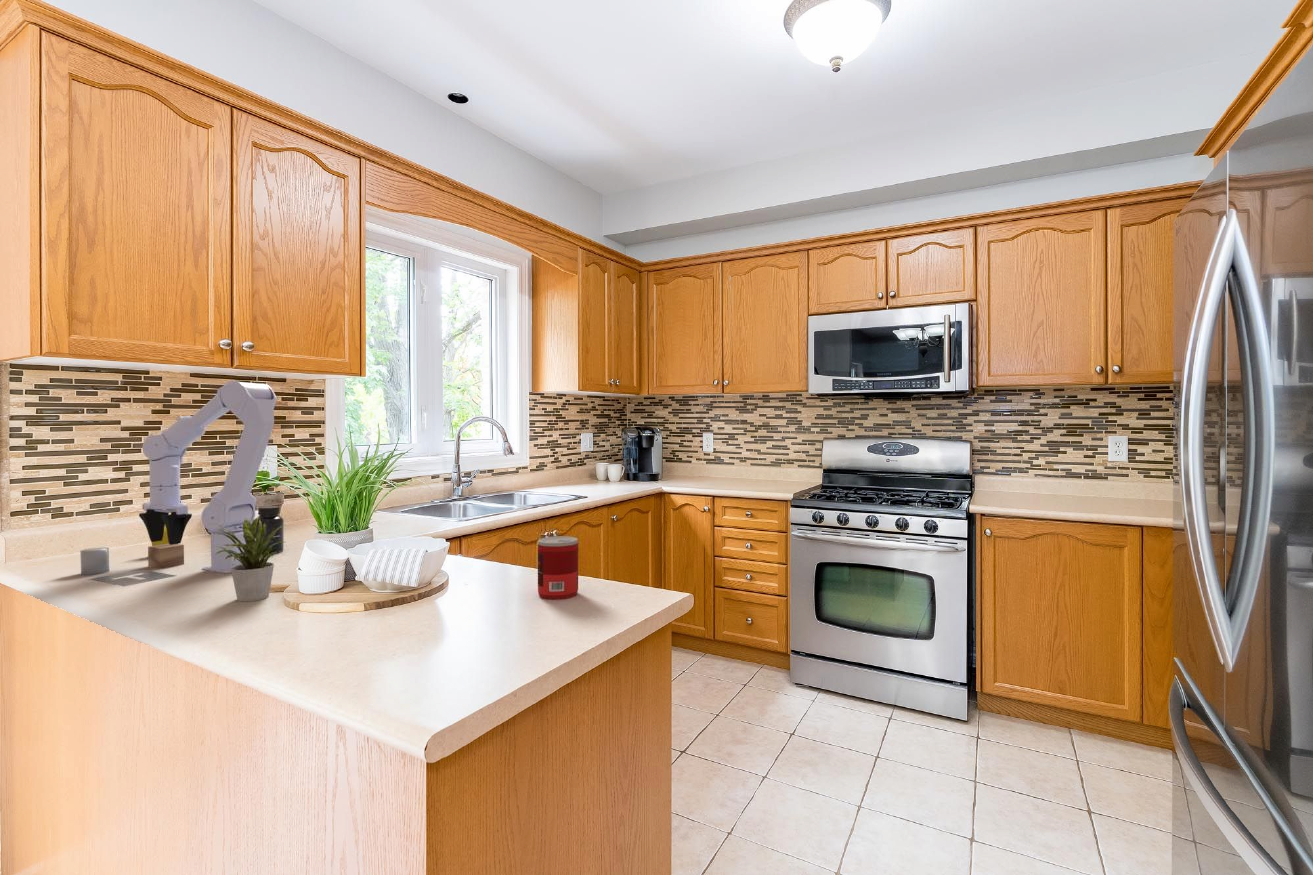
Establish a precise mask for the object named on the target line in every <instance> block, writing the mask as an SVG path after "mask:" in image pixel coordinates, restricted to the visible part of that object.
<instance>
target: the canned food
mask: <svg viewBox="0 0 1313 875" xmlns="http://www.w3.org/2000/svg"><path fill="white" fill-rule="evenodd" d="M578 591H579V540H578V538H577V537H573V536H567V535H562V536H561V535H557V536H546V537H541V538H539V539H538V540H537V592H538V595H539V597H540V598H541V599H544V600H545V599H546V600H564V599H565V600H566V599H570V598H573V597H575V596H577V594H578Z"/></svg>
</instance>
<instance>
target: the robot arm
mask: <svg viewBox="0 0 1313 875" xmlns="http://www.w3.org/2000/svg"><path fill="white" fill-rule="evenodd" d="M277 400H278V397H277V396H276V394H275V392H274V390H273V388H272V387H271V386H270V385H268V384H267V383H261V382H256V383H255V382H243V381H238V380H230V381H227V382H225V383H224V384H223V386H221V387H219V388H218V389H217V390H216V395H215V396H214V397H212V398H211V399H210V400H209V401H208V402H206V404H204V405H203V406H202V407H201V408H200V409H199V410H197V411H196V412H195V413H194V414H193V415H183V416H179V417H178V418H176V421H175V422H174V423H173V424H172V425H170V426H169V427H168V428H164V429H163V430H162V432H161V433H158V434H150V435H148V436H147V437H146V438H145V439H144V441H143V442H142V452H143V455H144V456H145V457H146V458H147V459H148V460H149V501H148V502H143V504H142V505H143V512H142V513H138V516H139V518H140V519H141V521H142V522H143V524H144V526H145V529H146V531H147V534H148V538H149V541H150V542H151V543H152V542H156V541H162V539H163V534H164V526H166V529H167V536H168V542H169V544H170V545H173V544H181V543H182V540H183V536H184V532H185V530H186V527H187V525H188V523H189V522H190V520H191V518H192V517H193V514H192V513H189V505H187V504H184V503H182V502H181V465H182V464H183V457H184V456H185V454H186V452H187V448H188V447H190V446H191V445H192V444H193V443H194V442H195V441H197V440H198V439H200V438H201V437H203V436H204V435H205V433H206V427H207V426H209V425H210V424H212V423H213V422H215V421H216V420H218V419H219V418H221V417H222V416H223V415H225V414H227V413H228V412H230V411H231V413H232V414H233V415H235V417H236V418H238V419H239V421H241V423H242V424H243V429H242V432H241V436H240V438H239V439H238V440H239V441H238V444H237V447H236V449H235V452H234V455H233V458H232V461H231V464H230V467H229V470H228V473H227V476H226V478H225V481H224V484H223V487H222V489H220V490H219V491H217V493H215V494H214V495H212V497H211V499H210V501H209V503H208V504H207V506H205V507H204V509H203V511H202V512H201V523H202V524H203V526H204V528H205V529H206V530H207V533H210V565H208V566H203V567H202V570H203V571H204V570H205V571H210V572H217V573H223V574H229V573H232V572H231V568H232V567H234V566H237V565H241V564H242V563H241V562H239V561H238V560H237V559H235V561H234V557H233V556H232V557H229V558H227V559H226V557H227V556H228V555H230V554H229V553H227V552H226V551H224V552H220V553H218V554H216V553H217V552H219V551H222V550H224V549H222V548H225V549H226V550H232V551H235V552H236V553H241V552H240V550H239V549H238V548H237V547H236V546H225V544H234V542H233V541H232V540H231V539H229V538H228V537H226V536H225V535H219V534H226V533H224V532H228V531H229V530H230V531H231V532H232V533H233V534H234V535H235V536H236V537H237V538H238V539H239V540H240V541H241V543H242V544H246V542H245V539H244V537H243V535H244V533H243V522H244V521H245V518H246V519H248V520H249V521H250V523H252V521H253V520H254V519H255V518H256V503H257V498H256V497H255V496H254V495H253V494H252V489H253V486H254V483H255V481H256V479H257V478H256V477H257V475H258V472H259V471H260V470H259V469H260V467H261V463H262V460H263V457H264V456H265V453H266V449H267V446H268V443H269V440H270V437H271V435H272V432H273V429H274V426H275V412H274V409H275V407H276V403H277ZM144 511H145V512H144ZM211 524H215V525H211ZM219 525H221V526H219ZM222 526H224V527H226V528H227V529H229V530H227V529H226V528H224V527H222ZM219 529H222V530H219ZM226 530H227V531H226ZM220 531H224V532H220ZM230 531H229V532H228V533H230ZM230 534H231V533H230ZM226 535H228V534H226ZM229 536H230V535H229ZM230 537H231V536H230ZM233 539H234V538H233ZM234 540H235V539H234ZM235 541H236V540H235ZM255 541H256V538H255ZM236 542H237V541H236ZM237 543H238V542H237ZM214 546H218V547H214ZM220 547H222V548H220ZM240 548H241V547H240ZM241 549H242V548H241ZM232 551H231V552H232ZM242 551H243V552H244V550H243V549H242ZM235 552H234V553H235ZM244 553H245V552H244ZM215 554H216V555H215ZM231 554H232V553H231ZM232 555H233V554H232ZM242 556H243V555H242ZM245 556H246V555H245ZM225 559H226V560H225ZM238 559H239V558H238ZM239 560H240V559H239ZM240 561H241V560H240Z"/></svg>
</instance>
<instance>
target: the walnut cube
mask: <svg viewBox="0 0 1313 875" xmlns="http://www.w3.org/2000/svg"><path fill="white" fill-rule="evenodd" d="M147 559H148V560H147V565H148V566H147V567H149V568H155V569H164V568H172V567H175V566H176V567H177V566H182V565H185V545H184V544H181V543H180V544H173V545H170V544H163V545H156V546H152V545H149V546H148V547H147Z"/></svg>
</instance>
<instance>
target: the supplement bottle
mask: <svg viewBox="0 0 1313 875" xmlns="http://www.w3.org/2000/svg"><path fill="white" fill-rule="evenodd" d="M257 509H258V510H257V515H258V516H259V515H260V516H259V518H258V522H257V527H256V534H255V538H257V533H258V525H259V520H260V521H261V524H262V528H263V524H264V523H265V525H266V533H265V536H264V540H263V543H264V542H265V540H266V538H267V537H268V536H269V535H270V534H271V533H272V532H273V531H274V530H276V529H277V528H279V527H280V528H279V529H278V530H277V531H276V533H275V534H274V535H273V537H272V538H271V540H270V542H269V543H268V545H267V546H266V548H265V550H264V551H263V553H262V554H261V555H263V554H264V552H265V551H266V550H267V548H268V547H270V546H271V545H273V544H275V543H277V544H275V545H273V546H272V550H271V551H270V553H269V554H271V553H273V552H278V553H281V552H282V553H283V551H284V547H285V546H284V545H285V544H284V543H285V541H284V539H285V535H284V534H285V533H284V532H285V520H284V518H283V517H282V516H280V506H274V505H270V506H269V505H268V506H259V507H258V508H257ZM283 524H284V525H283ZM282 525H283V526H282ZM281 526H282V527H281ZM278 542H282V543H278ZM262 546H263V544H262ZM280 551H281V552H280ZM278 553H277V554H278ZM269 554H268V555H269Z"/></svg>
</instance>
